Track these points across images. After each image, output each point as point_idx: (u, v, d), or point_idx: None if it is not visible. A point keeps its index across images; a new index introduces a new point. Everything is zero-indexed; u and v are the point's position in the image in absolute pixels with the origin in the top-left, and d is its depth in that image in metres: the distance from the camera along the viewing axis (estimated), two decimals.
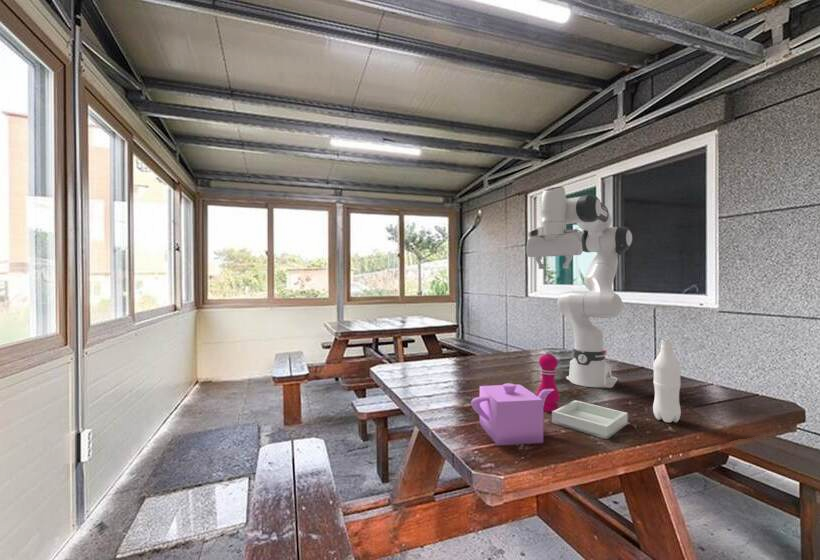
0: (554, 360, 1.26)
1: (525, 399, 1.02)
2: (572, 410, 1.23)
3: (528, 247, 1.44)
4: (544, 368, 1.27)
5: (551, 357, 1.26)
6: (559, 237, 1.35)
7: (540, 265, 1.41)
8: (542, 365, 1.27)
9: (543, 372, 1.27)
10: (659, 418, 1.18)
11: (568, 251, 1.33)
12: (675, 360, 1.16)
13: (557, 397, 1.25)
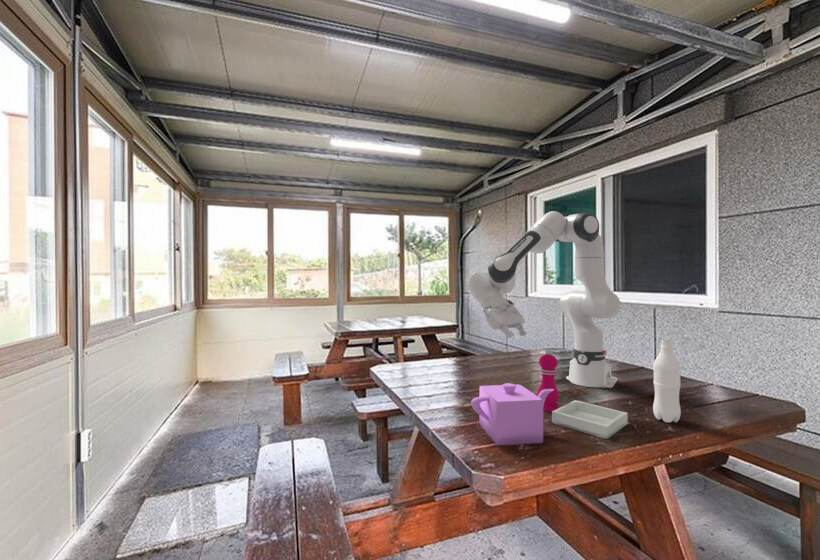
0: (554, 360, 1.26)
1: (525, 399, 1.02)
2: (572, 410, 1.23)
3: None
4: (544, 368, 1.27)
5: (551, 357, 1.26)
6: None
7: None
8: (542, 365, 1.27)
9: (543, 372, 1.27)
10: (659, 418, 1.18)
11: None
12: (675, 360, 1.16)
13: (557, 397, 1.25)
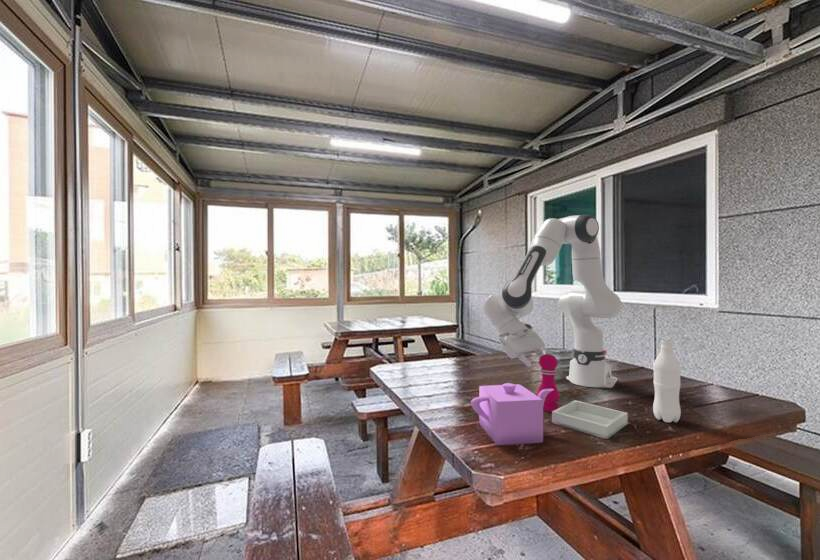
0: (554, 360, 1.26)
1: (525, 399, 1.02)
2: (572, 410, 1.23)
3: None
4: (544, 368, 1.27)
5: (551, 357, 1.26)
6: None
7: None
8: (542, 365, 1.27)
9: (543, 372, 1.27)
10: (659, 418, 1.18)
11: None
12: (675, 360, 1.16)
13: (557, 397, 1.25)
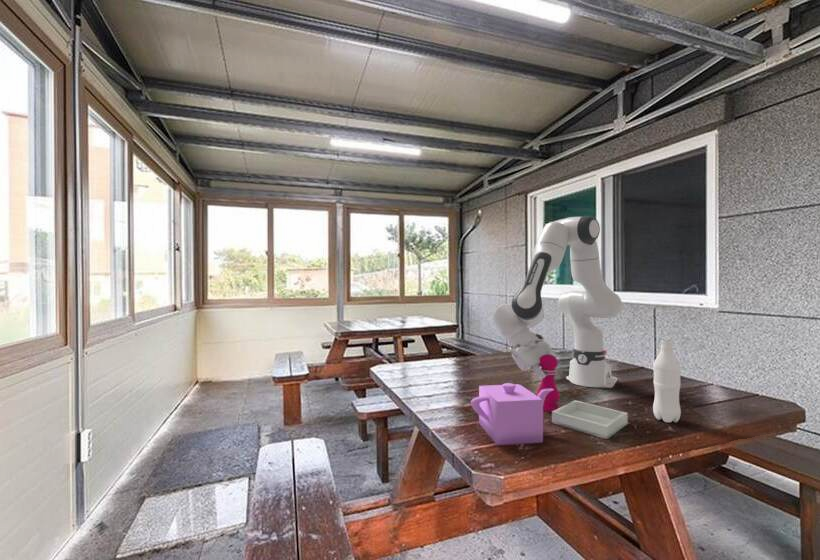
0: (554, 360, 1.26)
1: (525, 399, 1.02)
2: (572, 410, 1.23)
3: None
4: (544, 368, 1.27)
5: (551, 357, 1.26)
6: None
7: None
8: (542, 365, 1.27)
9: None
10: (659, 418, 1.18)
11: None
12: (675, 360, 1.16)
13: (557, 397, 1.25)
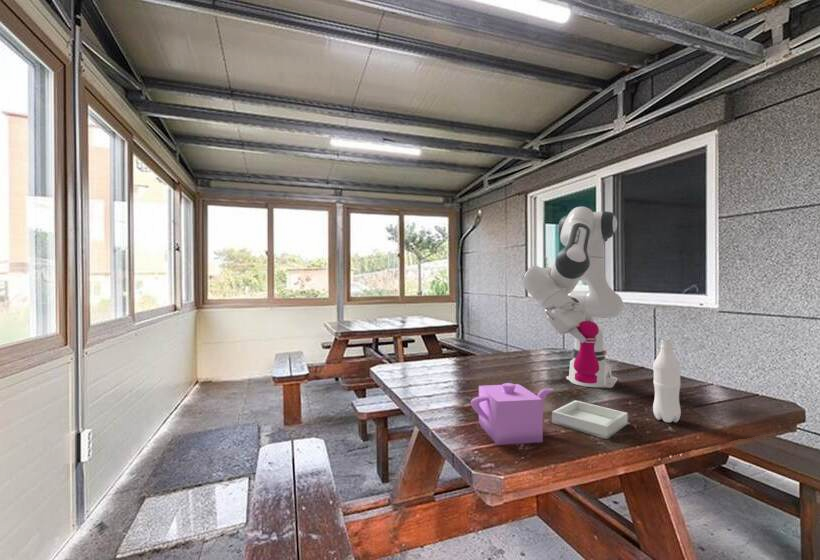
0: (595, 327, 1.13)
1: (525, 399, 1.02)
2: (572, 410, 1.23)
3: None
4: None
5: (592, 323, 1.13)
6: None
7: None
8: (581, 332, 1.14)
9: None
10: (659, 418, 1.18)
11: None
12: (675, 360, 1.16)
13: (597, 367, 1.13)
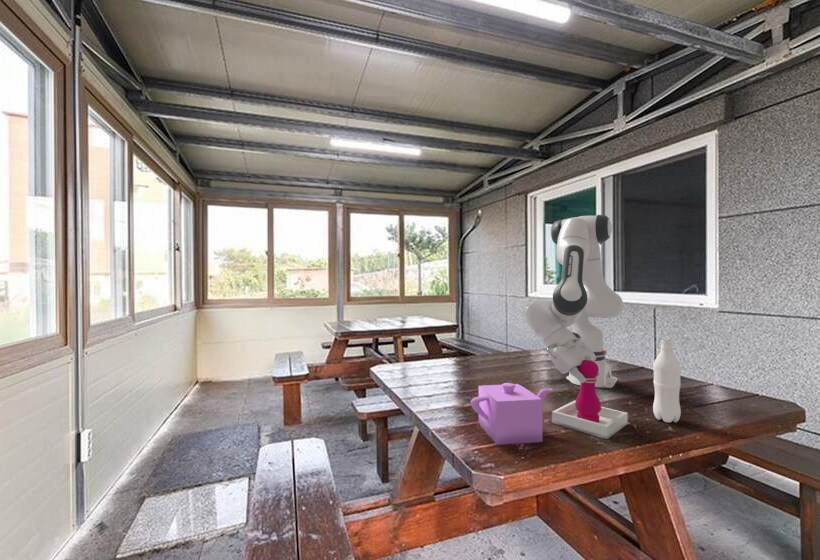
0: (595, 367, 1.13)
1: (525, 399, 1.02)
2: (572, 410, 1.23)
3: None
4: None
5: (591, 363, 1.14)
6: None
7: None
8: (581, 372, 1.14)
9: None
10: (659, 418, 1.18)
11: None
12: (675, 360, 1.16)
13: (598, 407, 1.13)
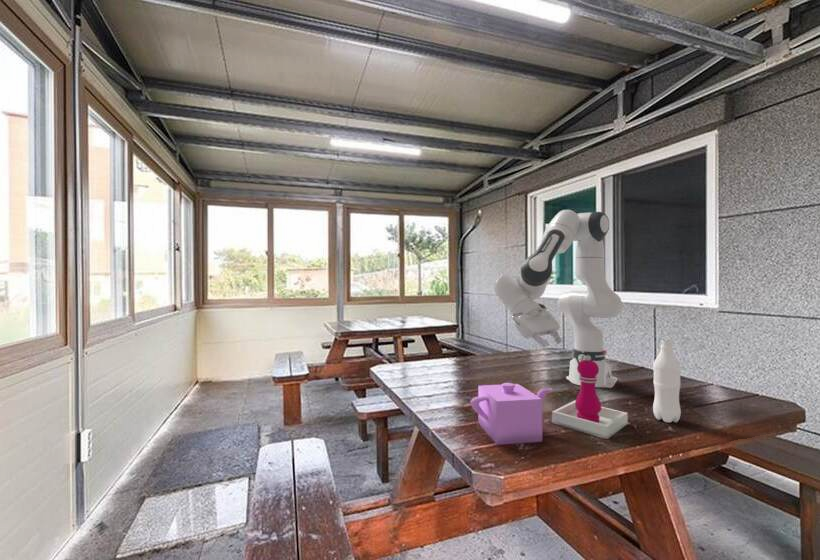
0: (595, 366, 1.13)
1: (525, 399, 1.03)
2: (572, 410, 1.23)
3: None
4: (584, 375, 1.14)
5: (592, 363, 1.14)
6: None
7: None
8: (581, 372, 1.14)
9: (582, 380, 1.15)
10: (659, 418, 1.18)
11: None
12: (675, 360, 1.16)
13: (598, 407, 1.13)
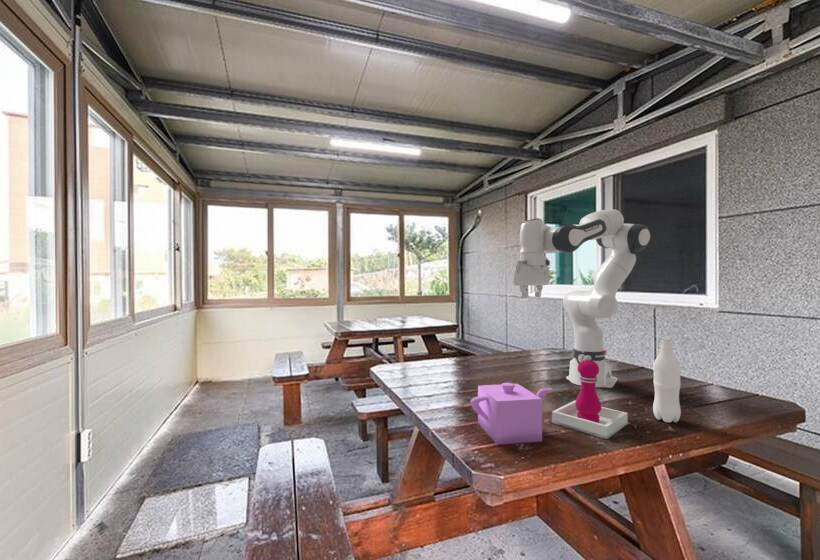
0: (595, 367, 1.13)
1: (525, 399, 1.03)
2: (572, 410, 1.23)
3: None
4: (584, 375, 1.14)
5: (592, 363, 1.14)
6: None
7: None
8: (582, 372, 1.14)
9: (583, 380, 1.15)
10: (659, 418, 1.18)
11: None
12: (675, 360, 1.16)
13: (599, 408, 1.13)
